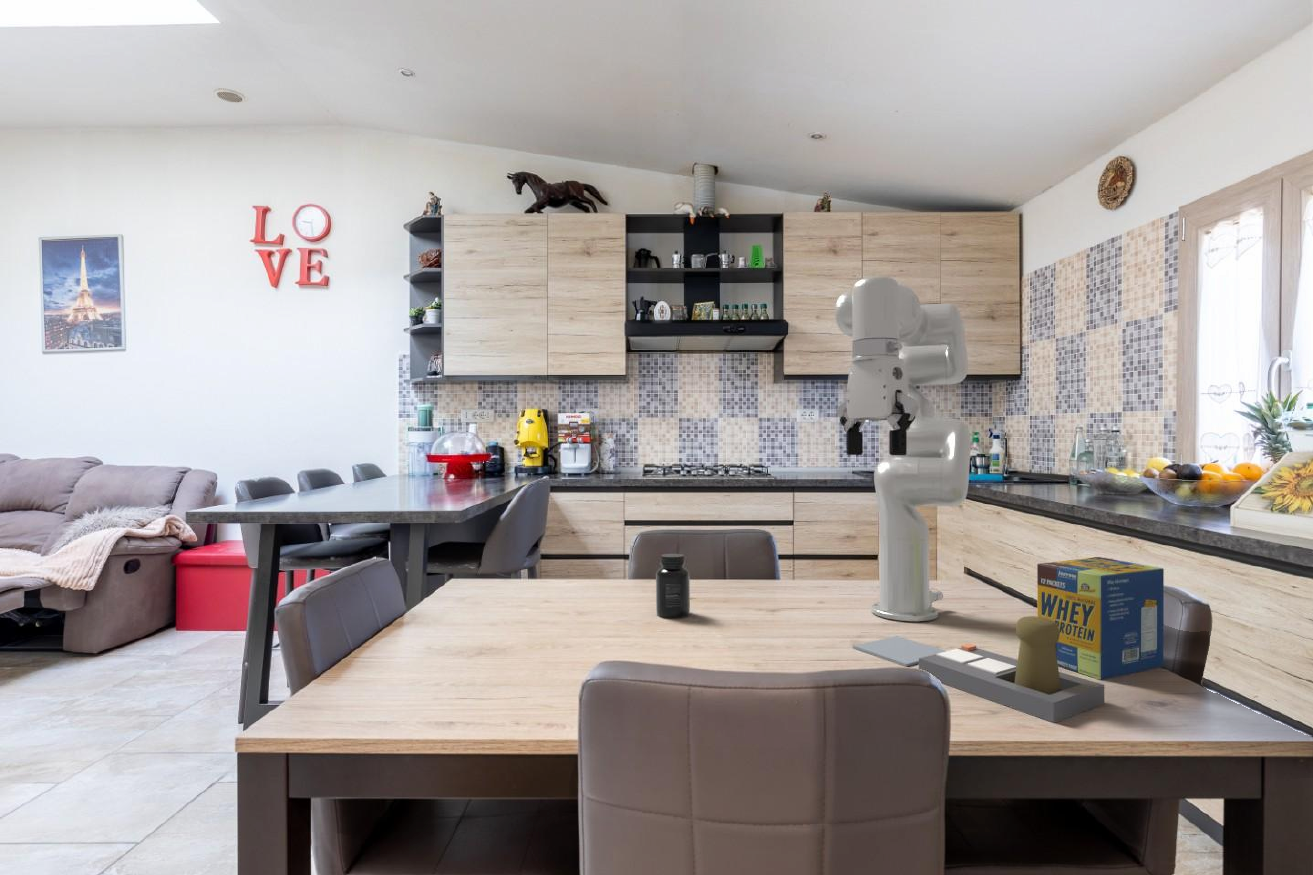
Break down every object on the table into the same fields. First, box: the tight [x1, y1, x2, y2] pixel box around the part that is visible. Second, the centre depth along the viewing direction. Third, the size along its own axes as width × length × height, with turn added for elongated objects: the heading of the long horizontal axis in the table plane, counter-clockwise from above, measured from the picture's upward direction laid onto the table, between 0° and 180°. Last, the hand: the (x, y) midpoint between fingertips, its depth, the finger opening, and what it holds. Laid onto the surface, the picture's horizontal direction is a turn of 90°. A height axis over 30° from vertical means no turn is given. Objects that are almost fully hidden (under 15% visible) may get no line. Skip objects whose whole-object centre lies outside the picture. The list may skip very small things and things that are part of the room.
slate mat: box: [852, 635, 947, 667], centre depth 113 cm, size 11×11×1 cm
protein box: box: [1036, 556, 1165, 681], centre depth 107 cm, size 10×15×16 cm
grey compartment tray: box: [918, 643, 1105, 724], centre depth 96 cm, size 12×20×3 cm, turn 30°
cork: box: [1014, 615, 1062, 695], centre depth 93 cm, size 6×6×11 cm
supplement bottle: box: [655, 553, 691, 619], centre depth 138 cm, size 7×7×12 cm
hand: (875, 455), depth 114 cm, fingers open, 9 cm apart
